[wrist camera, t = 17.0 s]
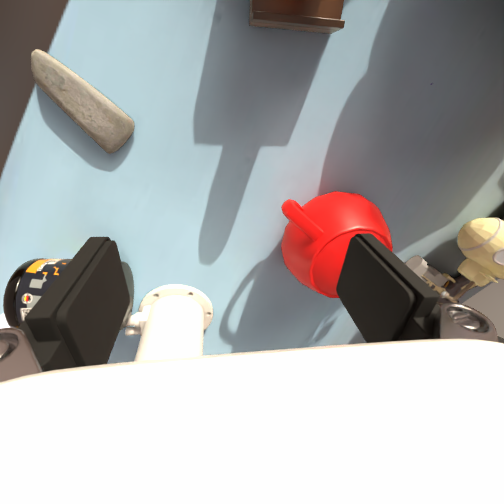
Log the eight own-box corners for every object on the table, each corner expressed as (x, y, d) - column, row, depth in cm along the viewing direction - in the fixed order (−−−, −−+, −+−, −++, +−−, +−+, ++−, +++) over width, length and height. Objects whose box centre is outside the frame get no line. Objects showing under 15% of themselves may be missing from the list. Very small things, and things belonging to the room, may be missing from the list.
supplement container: (52, 256, 40) (135, 256, 42) (53, 325, 40) (135, 321, 42) (-4, 259, 29) (109, 259, 31) (-3, 352, 30) (109, 346, 31)
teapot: (237, 225, 39) (247, 274, 29) (314, 141, 34) (359, 165, 24) (336, 298, 50) (368, 352, 40) (405, 243, 45) (462, 288, 35)
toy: (509, 205, 36) (428, 285, 40) (606, 280, 36) (517, 353, 40) (467, 204, 44) (404, 270, 48) (546, 265, 45) (477, 326, 48)
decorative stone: (12, 72, 25) (42, 32, 24) (19, 73, 26) (48, 34, 25) (110, 158, 31) (138, 128, 30) (113, 155, 32) (140, 126, 31)
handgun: (474, 219, 41) (399, 284, 46) (517, 266, 48) (448, 318, 53) (459, 212, 43) (390, 275, 48) (502, 258, 50) (438, 308, 55)
